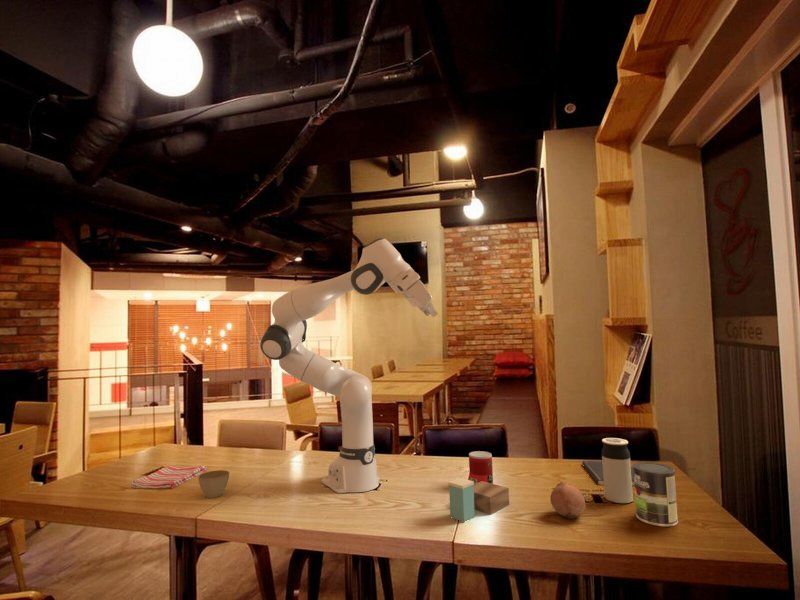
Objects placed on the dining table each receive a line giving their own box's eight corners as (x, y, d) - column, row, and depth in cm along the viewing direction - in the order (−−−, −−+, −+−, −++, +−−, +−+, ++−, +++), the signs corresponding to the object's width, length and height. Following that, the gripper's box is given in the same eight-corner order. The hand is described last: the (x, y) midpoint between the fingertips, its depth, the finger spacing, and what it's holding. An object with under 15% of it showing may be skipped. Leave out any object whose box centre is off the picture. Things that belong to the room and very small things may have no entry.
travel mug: (605, 502, 135) (602, 442, 137) (603, 493, 143) (600, 437, 144) (634, 505, 133) (630, 444, 134) (631, 496, 140) (627, 438, 142)
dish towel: (128, 490, 162) (129, 480, 162) (170, 470, 185) (170, 461, 185) (171, 491, 159) (171, 481, 159) (208, 470, 182) (208, 462, 182)
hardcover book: (625, 467, 171) (625, 461, 171) (648, 488, 148) (647, 481, 148) (582, 466, 174) (582, 460, 174) (597, 486, 151) (597, 479, 151)
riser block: (463, 505, 136) (462, 489, 137) (482, 496, 143) (481, 481, 144) (490, 514, 129) (490, 497, 129) (509, 504, 136) (508, 488, 136)
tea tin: (449, 517, 128) (448, 482, 129) (460, 512, 131) (459, 477, 132) (464, 522, 124) (462, 486, 125) (475, 517, 128) (473, 481, 129)
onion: (559, 521, 130) (549, 485, 135) (592, 516, 127) (580, 479, 132) (553, 521, 122) (543, 483, 128) (587, 516, 119) (576, 477, 124)
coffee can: (651, 528, 117) (647, 474, 118) (628, 512, 128) (625, 462, 129) (687, 525, 118) (683, 471, 119) (662, 510, 129) (658, 461, 130)
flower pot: (235, 491, 155) (235, 470, 156) (215, 502, 146) (215, 480, 146) (212, 489, 158) (212, 468, 159) (191, 499, 149) (191, 477, 149)
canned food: (493, 490, 148) (491, 457, 149) (469, 489, 150) (468, 456, 151) (493, 483, 156) (491, 451, 157) (470, 482, 158) (469, 450, 158)
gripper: (392, 288, 148) (418, 320, 149) (401, 286, 128) (431, 322, 129) (406, 276, 149) (432, 308, 150) (418, 272, 128) (447, 308, 130)
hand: (432, 314), depth 139 cm, fingers open, 8 cm apart
